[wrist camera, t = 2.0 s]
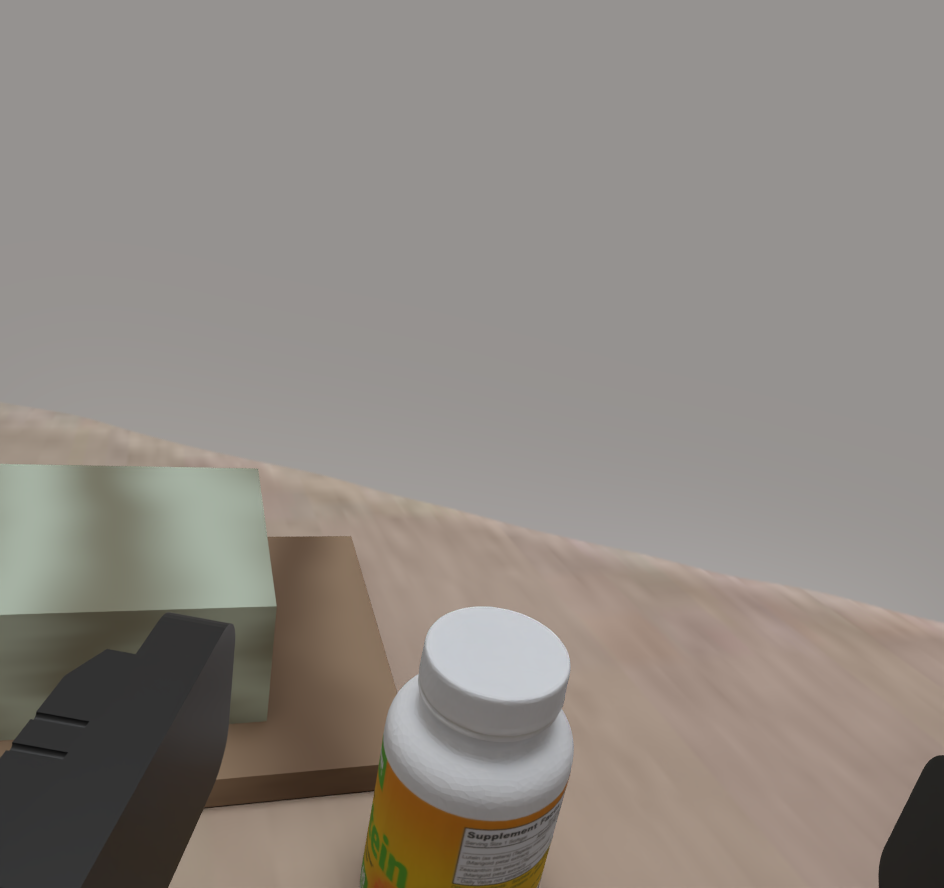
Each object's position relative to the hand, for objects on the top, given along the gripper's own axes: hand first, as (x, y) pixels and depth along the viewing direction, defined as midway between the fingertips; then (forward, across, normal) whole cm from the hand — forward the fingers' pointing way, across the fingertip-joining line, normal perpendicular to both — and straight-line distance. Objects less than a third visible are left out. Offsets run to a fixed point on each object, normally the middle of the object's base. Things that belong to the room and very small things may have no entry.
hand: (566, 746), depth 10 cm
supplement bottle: (+11, 0, +17) cm, 20 cm away
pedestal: (+19, +13, +17) cm, 29 cm away
